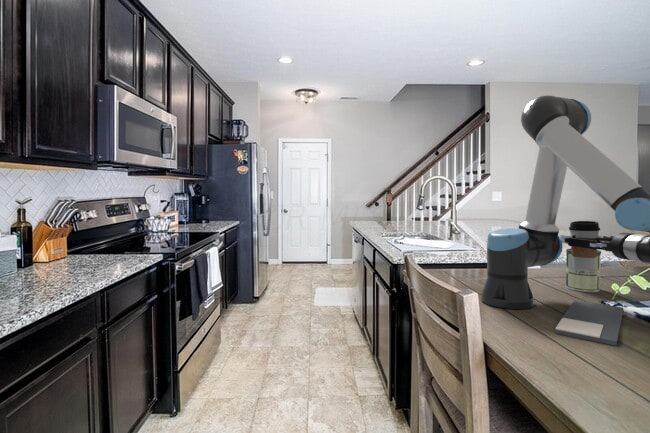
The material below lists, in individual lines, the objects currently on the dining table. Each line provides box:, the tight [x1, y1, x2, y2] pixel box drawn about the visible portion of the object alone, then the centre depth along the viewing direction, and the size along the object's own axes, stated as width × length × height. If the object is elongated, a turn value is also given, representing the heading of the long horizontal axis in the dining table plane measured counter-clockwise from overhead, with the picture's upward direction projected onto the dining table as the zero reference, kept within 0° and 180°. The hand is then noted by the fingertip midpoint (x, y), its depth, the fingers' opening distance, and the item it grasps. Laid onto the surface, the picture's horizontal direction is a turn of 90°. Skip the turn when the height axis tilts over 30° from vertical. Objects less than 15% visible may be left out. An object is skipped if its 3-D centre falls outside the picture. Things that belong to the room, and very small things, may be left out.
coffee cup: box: [568, 220, 601, 269], centre depth 118 cm, size 8×8×15 cm
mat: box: [554, 299, 624, 346], centre depth 98 cm, size 32×12×1 cm, turn 138°
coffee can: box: [565, 248, 602, 293], centre depth 131 cm, size 10×10×14 cm
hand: (573, 238), depth 122 cm, fingers closed on coffee cup, 8 cm apart
